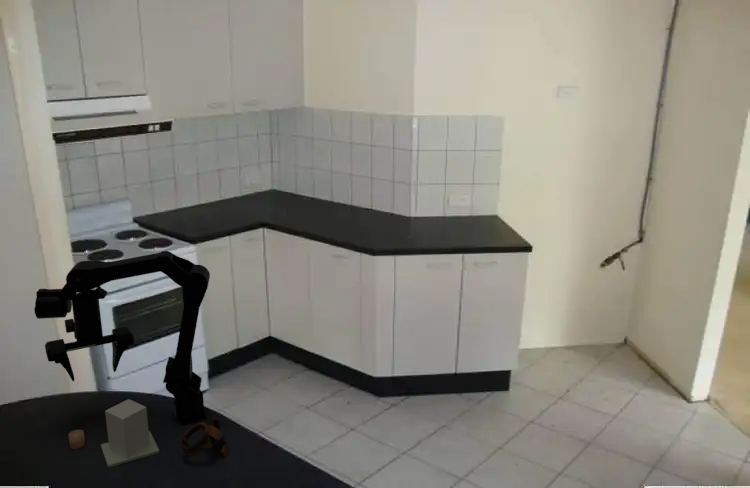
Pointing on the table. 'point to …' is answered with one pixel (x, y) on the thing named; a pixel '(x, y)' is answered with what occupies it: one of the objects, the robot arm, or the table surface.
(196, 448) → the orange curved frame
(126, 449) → the gray rectangular block
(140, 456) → the sage mat
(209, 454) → the table surface
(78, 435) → the brown round lump
